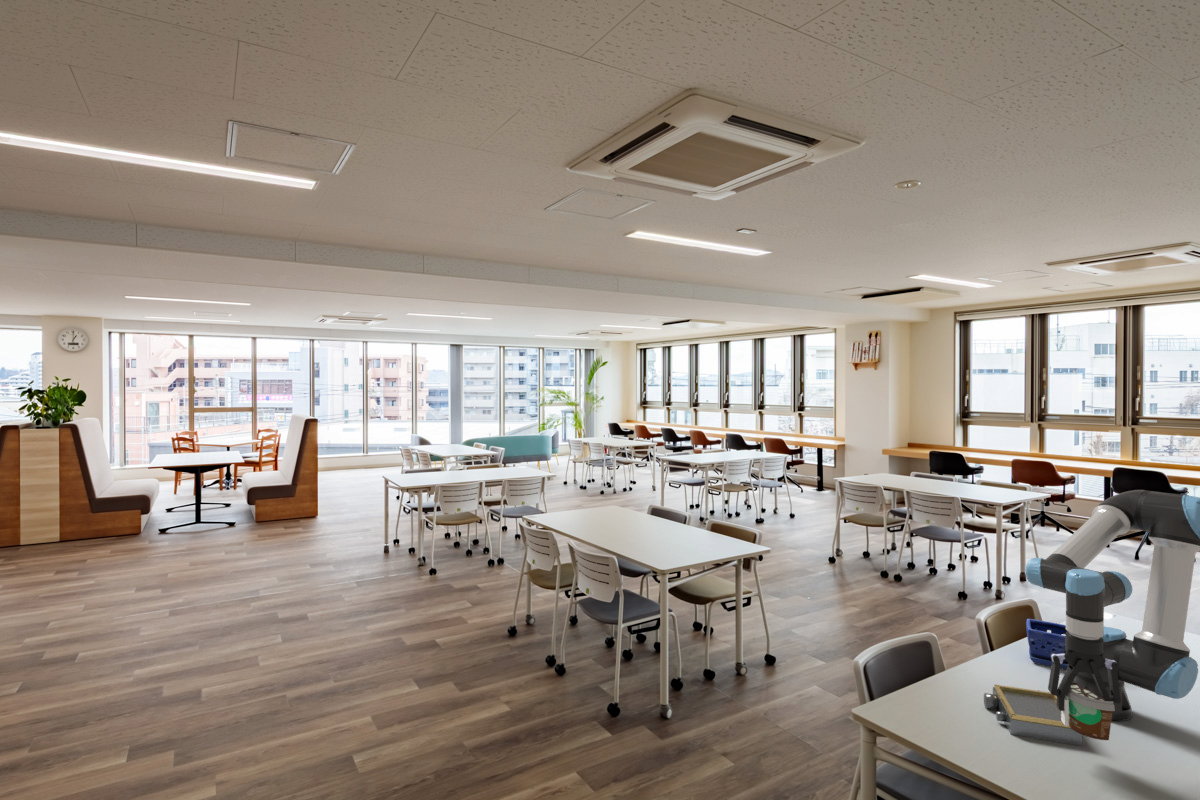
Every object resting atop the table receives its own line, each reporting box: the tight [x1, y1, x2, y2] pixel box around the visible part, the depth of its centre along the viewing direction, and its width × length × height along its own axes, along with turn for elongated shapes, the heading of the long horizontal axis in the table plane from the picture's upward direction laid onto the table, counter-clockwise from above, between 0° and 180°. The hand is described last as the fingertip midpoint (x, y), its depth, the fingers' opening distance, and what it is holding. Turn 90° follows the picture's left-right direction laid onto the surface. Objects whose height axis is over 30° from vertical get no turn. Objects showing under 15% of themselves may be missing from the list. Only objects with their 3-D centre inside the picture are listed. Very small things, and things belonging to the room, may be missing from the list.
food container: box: [1066, 679, 1115, 741], centre depth 160 cm, size 12×6×10 cm, turn 3°
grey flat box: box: [983, 684, 1083, 747], centre depth 180 cm, size 19×20×5 cm
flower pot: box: [1025, 618, 1069, 670], centre depth 220 cm, size 13×13×12 cm
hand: (1083, 725), depth 160 cm, fingers closed on food container, 7 cm apart
